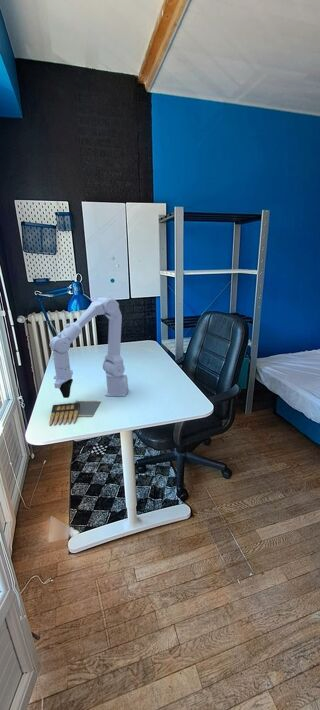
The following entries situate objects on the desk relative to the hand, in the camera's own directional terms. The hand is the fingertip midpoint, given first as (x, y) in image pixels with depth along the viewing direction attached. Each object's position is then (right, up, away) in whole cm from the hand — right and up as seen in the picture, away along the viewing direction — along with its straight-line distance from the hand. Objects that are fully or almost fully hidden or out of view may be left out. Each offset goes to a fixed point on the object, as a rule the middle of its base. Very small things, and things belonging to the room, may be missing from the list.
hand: (66, 397), depth 122 cm
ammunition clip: (0, -3, 0) cm, 3 cm away
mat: (+7, -5, +1) cm, 9 cm away
